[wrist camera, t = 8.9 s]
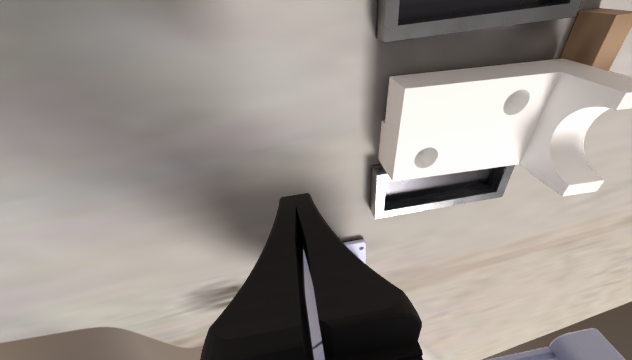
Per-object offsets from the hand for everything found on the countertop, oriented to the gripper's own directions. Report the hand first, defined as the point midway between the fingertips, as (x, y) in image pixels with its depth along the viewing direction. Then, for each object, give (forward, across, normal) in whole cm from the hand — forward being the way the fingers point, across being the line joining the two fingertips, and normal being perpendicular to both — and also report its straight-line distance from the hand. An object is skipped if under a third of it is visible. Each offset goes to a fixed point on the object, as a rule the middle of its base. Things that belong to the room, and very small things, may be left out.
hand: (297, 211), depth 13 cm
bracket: (+10, -14, +1) cm, 17 cm away
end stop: (+9, -22, 0) cm, 24 cm away
